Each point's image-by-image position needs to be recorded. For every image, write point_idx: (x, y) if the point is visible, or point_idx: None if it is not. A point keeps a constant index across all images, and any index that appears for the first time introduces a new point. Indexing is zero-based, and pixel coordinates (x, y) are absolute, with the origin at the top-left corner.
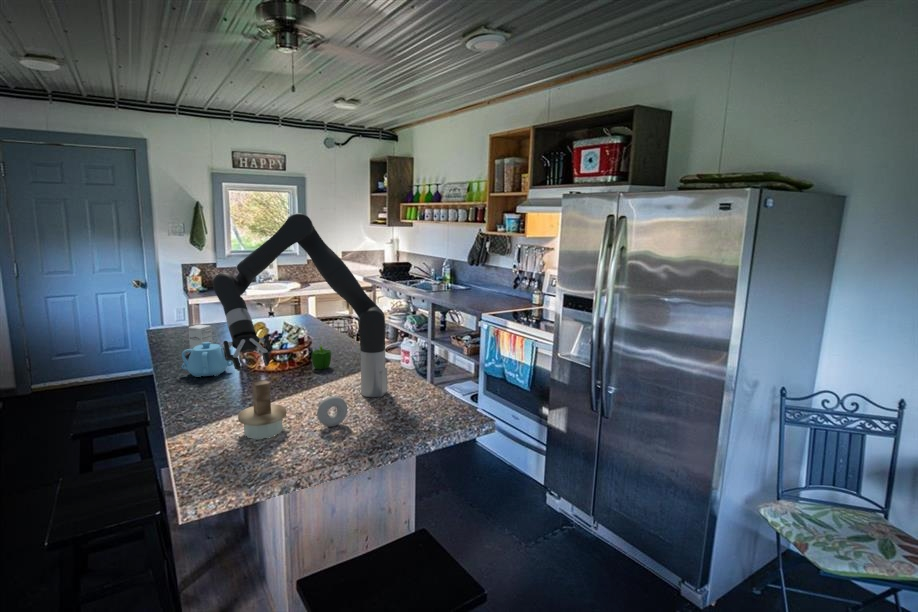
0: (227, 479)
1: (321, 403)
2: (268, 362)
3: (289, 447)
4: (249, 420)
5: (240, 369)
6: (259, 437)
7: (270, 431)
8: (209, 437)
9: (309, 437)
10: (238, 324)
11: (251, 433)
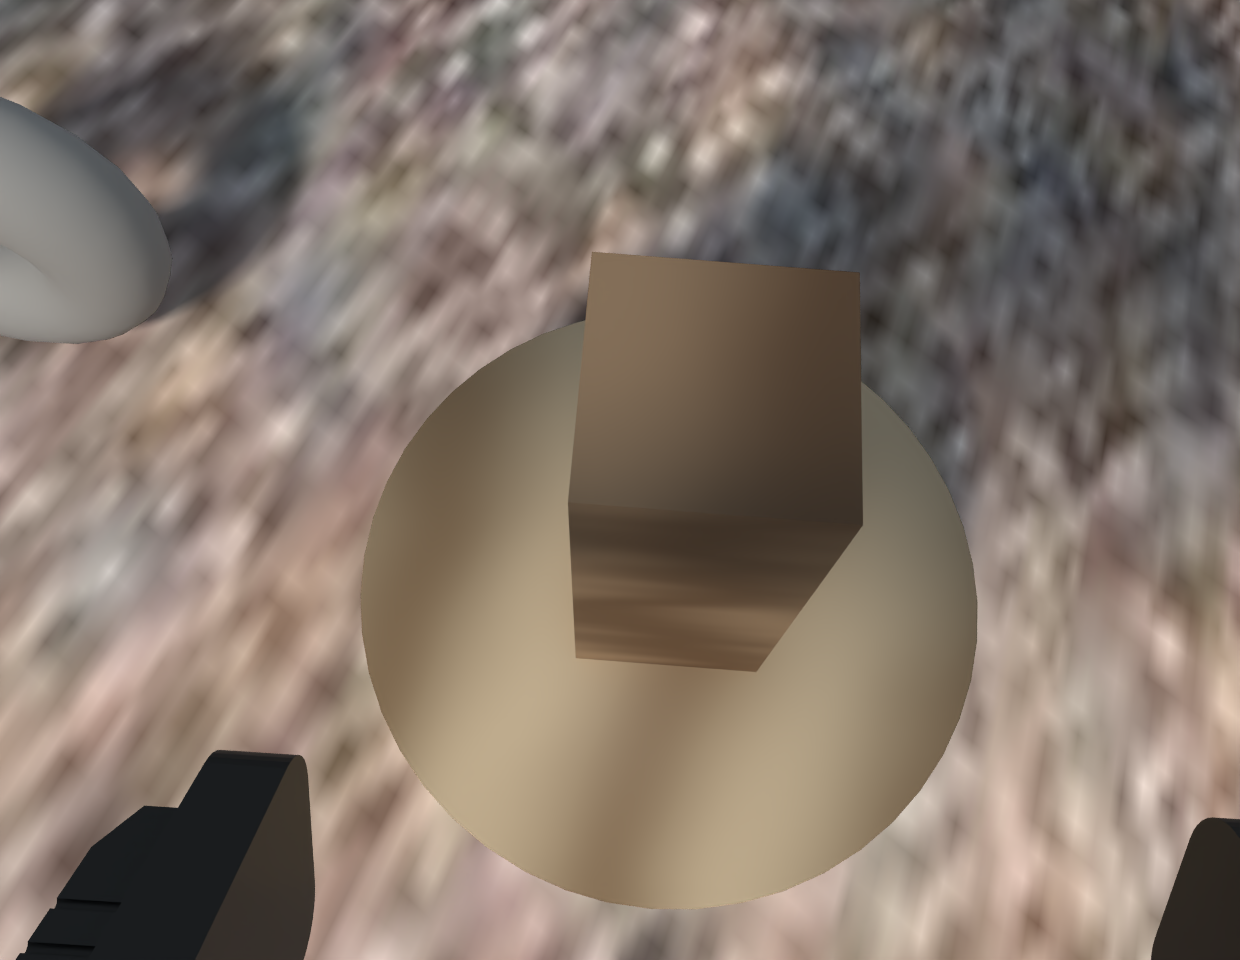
0: (1144, 39)
1: (44, 154)
2: (225, 754)
3: (605, 184)
4: (886, 442)
5: (1176, 887)
6: None
7: None
8: None
9: (377, 241)
10: None
11: None
